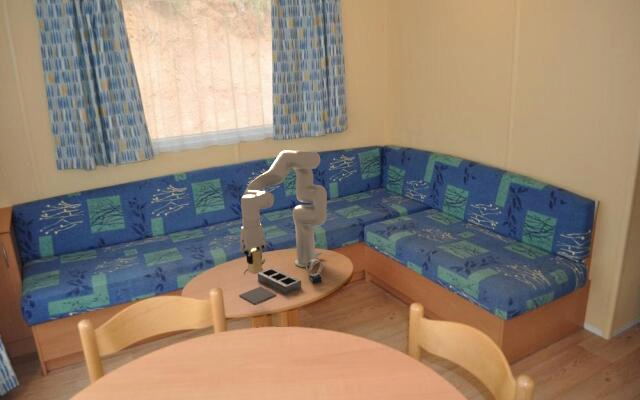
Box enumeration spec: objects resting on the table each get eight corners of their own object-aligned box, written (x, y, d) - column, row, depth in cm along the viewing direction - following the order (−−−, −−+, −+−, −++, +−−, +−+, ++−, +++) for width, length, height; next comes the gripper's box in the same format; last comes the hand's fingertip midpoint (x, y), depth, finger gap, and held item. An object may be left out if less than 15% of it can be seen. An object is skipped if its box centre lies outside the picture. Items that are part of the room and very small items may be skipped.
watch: (305, 280, 231) (304, 259, 228) (320, 277, 234) (319, 256, 231) (309, 285, 226) (308, 263, 223) (324, 281, 229) (324, 260, 226)
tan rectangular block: (256, 268, 217) (254, 248, 215) (262, 271, 214) (260, 250, 211) (248, 271, 214) (246, 250, 212) (254, 274, 211) (252, 253, 209)
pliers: (243, 274, 239) (247, 259, 259) (243, 276, 240) (247, 260, 259) (262, 273, 240) (265, 258, 259) (262, 275, 240) (265, 259, 259)
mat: (260, 287, 226) (260, 286, 226) (276, 295, 217) (276, 294, 217) (239, 296, 218) (239, 294, 218) (254, 304, 209) (254, 303, 209)
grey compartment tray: (258, 280, 233) (257, 273, 232) (272, 274, 239) (272, 267, 238) (286, 294, 217) (285, 286, 216) (301, 288, 223) (300, 280, 222)
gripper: (262, 216, 216) (264, 254, 221) (230, 225, 205) (233, 265, 210) (272, 220, 211) (274, 258, 216) (240, 229, 200) (243, 269, 205)
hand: (254, 261), depth 213 cm, fingers closed on tan rectangular block, 4 cm apart
